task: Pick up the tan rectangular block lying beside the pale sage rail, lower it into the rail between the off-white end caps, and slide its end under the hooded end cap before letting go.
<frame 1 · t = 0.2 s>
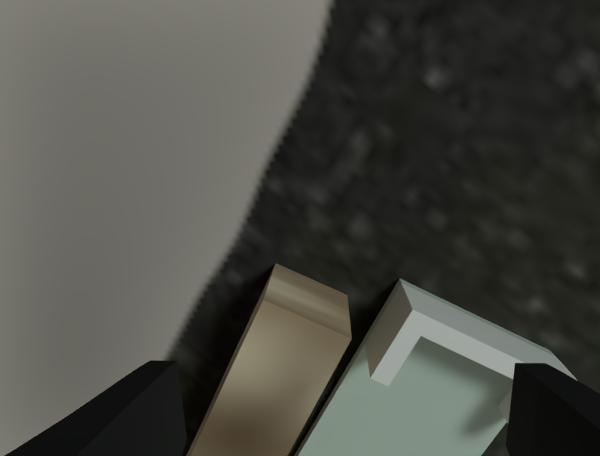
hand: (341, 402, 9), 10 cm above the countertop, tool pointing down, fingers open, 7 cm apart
tan rectangular block: (260, 380, 21), on the countertop
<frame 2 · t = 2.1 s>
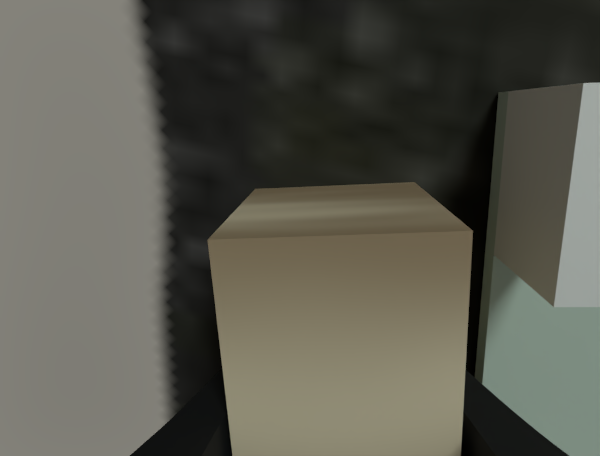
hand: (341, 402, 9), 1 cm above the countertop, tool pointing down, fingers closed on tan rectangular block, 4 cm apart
tan rectangular block: (341, 414, 11), on the countertop, touching gripper
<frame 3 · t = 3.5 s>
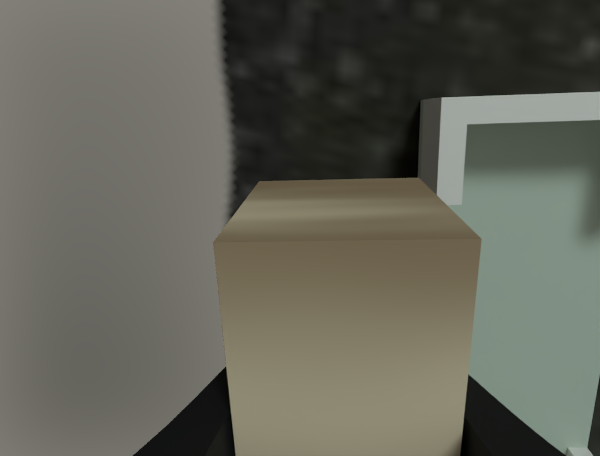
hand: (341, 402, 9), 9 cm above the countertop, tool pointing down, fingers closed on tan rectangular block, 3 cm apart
endcap rail: (500, 359, 18), on the countertop
tan rectangular block: (340, 404, 11), point 7 cm above the countertop, touching gripper
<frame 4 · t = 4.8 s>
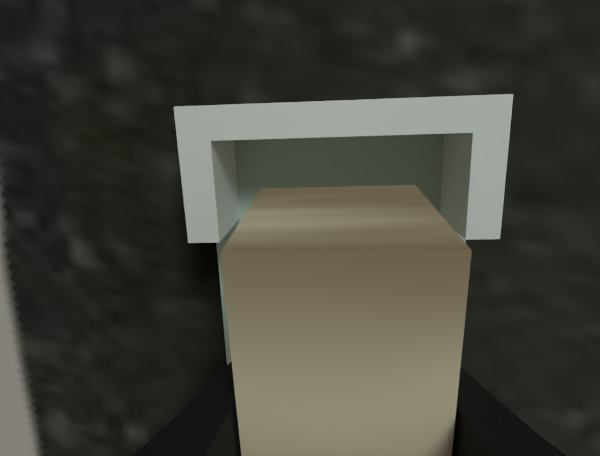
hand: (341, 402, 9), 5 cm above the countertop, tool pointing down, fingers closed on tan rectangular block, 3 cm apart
endcap rail: (340, 417, 15), on the countertop
tan rectangular block: (339, 401, 12), point 3 cm above the countertop, touching gripper
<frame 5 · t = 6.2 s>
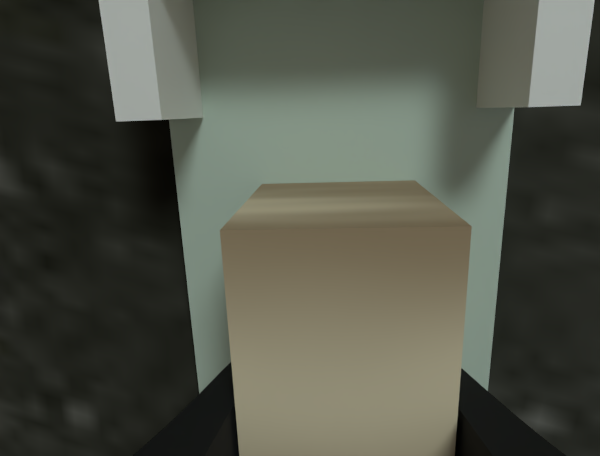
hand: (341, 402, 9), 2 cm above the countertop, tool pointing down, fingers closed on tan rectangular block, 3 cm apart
endcap rail: (339, 391, 12), on the countertop
tan rectangular block: (339, 405, 11), point 1 cm above the countertop, touching gripper
when the fingers open (2 cm above the countertop, at t = 7.0 s): tan rectangular block stays where it is, resting on endcap rail.
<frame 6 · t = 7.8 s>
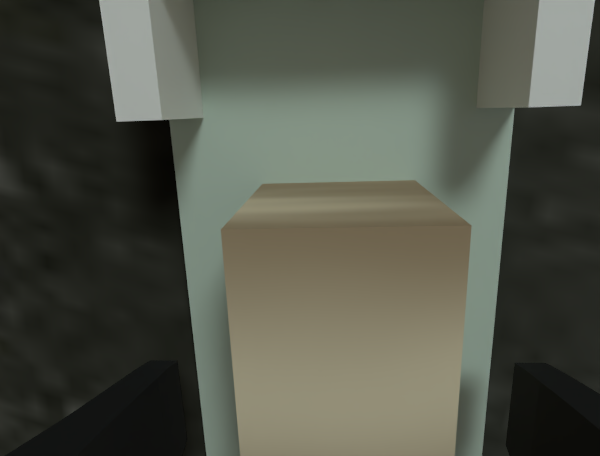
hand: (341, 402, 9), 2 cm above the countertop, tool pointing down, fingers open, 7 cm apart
endcap rail: (339, 391, 12), on the countertop
tan rectangular block: (340, 404, 11), resting on endcap rail
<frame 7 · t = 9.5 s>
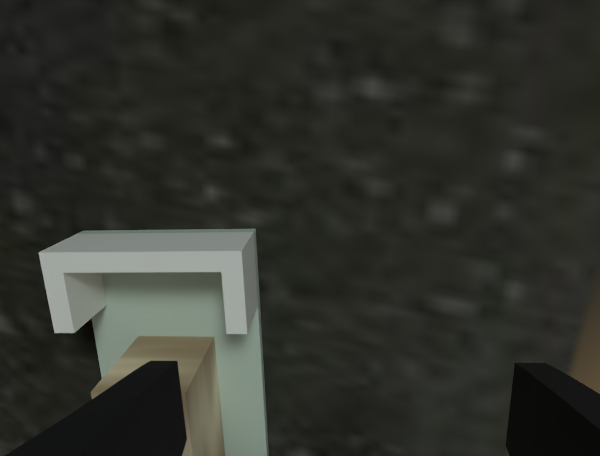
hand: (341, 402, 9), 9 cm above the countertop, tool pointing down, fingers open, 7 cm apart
endcap rail: (192, 439, 21), on the countertop
tan rectangular block: (189, 447, 21), resting on endcap rail
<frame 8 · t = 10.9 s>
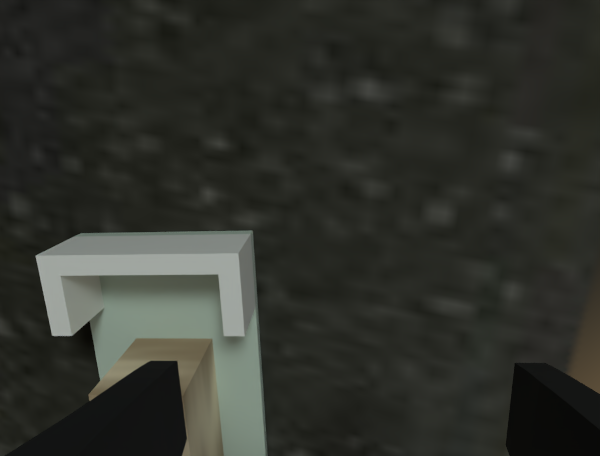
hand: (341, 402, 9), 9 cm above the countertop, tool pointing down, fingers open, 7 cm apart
endcap rail: (190, 440, 21), on the countertop
tan rectangular block: (187, 448, 21), resting on endcap rail
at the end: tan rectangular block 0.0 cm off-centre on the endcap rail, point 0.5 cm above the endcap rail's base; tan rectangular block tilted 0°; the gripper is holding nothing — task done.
